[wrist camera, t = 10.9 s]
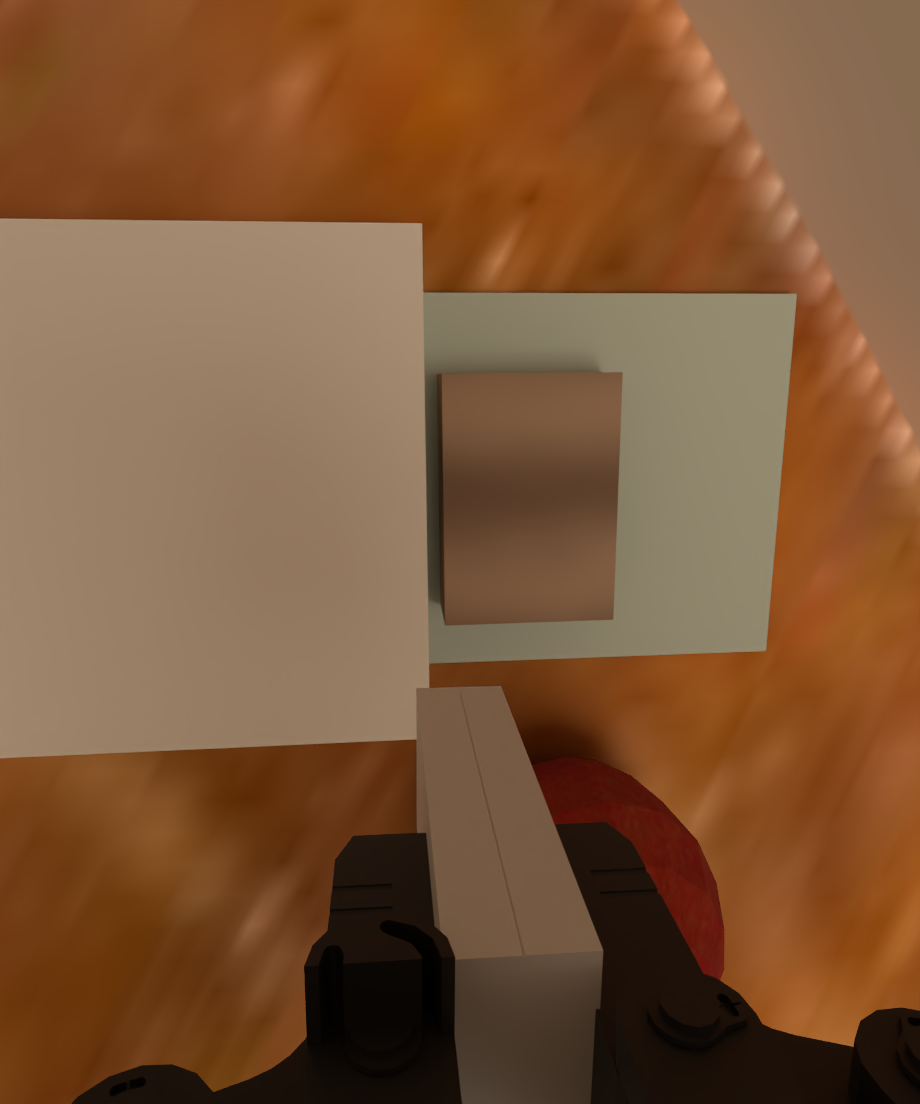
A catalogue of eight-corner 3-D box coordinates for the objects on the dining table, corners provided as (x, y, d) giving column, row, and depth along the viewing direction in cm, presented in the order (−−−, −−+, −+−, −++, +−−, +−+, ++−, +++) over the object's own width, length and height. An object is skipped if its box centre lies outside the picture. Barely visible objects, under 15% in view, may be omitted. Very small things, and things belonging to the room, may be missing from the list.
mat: (759, 646, 36) (765, 651, 36) (425, 659, 35) (425, 663, 35) (789, 295, 33) (796, 293, 32) (419, 294, 32) (419, 292, 31)
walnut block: (594, 599, 35) (613, 619, 32) (440, 604, 34) (445, 625, 31) (601, 372, 32) (622, 372, 29) (437, 374, 32) (442, 373, 29)
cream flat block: (425, 699, 36) (430, 738, 32) (22, 716, 34) (-25, 759, 30) (418, 242, 31) (421, 223, 27) (-46, 238, 30) (-111, 217, 26)
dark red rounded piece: (537, 671, 36) (626, 848, 22) (692, 783, 38) (860, 1007, 24) (404, 833, 37) (411, 1094, 24) (561, 933, 39) (651, 1226, 26)
